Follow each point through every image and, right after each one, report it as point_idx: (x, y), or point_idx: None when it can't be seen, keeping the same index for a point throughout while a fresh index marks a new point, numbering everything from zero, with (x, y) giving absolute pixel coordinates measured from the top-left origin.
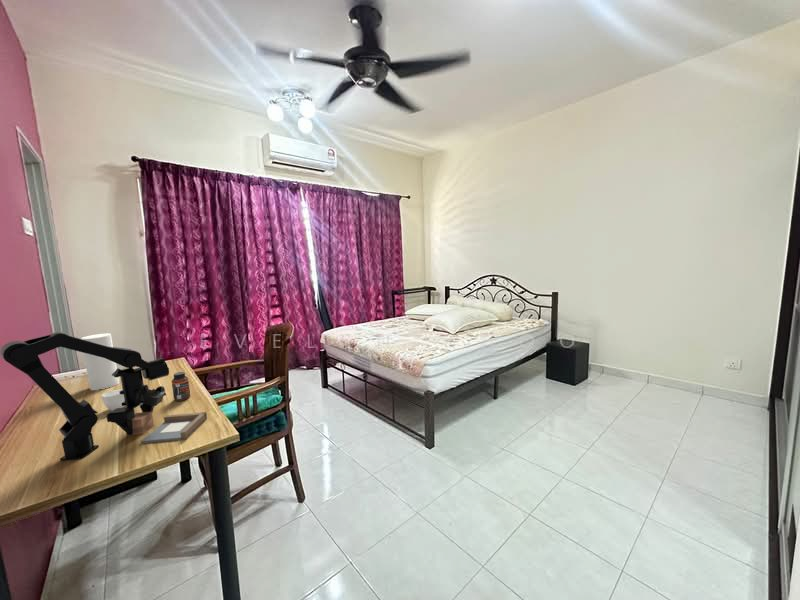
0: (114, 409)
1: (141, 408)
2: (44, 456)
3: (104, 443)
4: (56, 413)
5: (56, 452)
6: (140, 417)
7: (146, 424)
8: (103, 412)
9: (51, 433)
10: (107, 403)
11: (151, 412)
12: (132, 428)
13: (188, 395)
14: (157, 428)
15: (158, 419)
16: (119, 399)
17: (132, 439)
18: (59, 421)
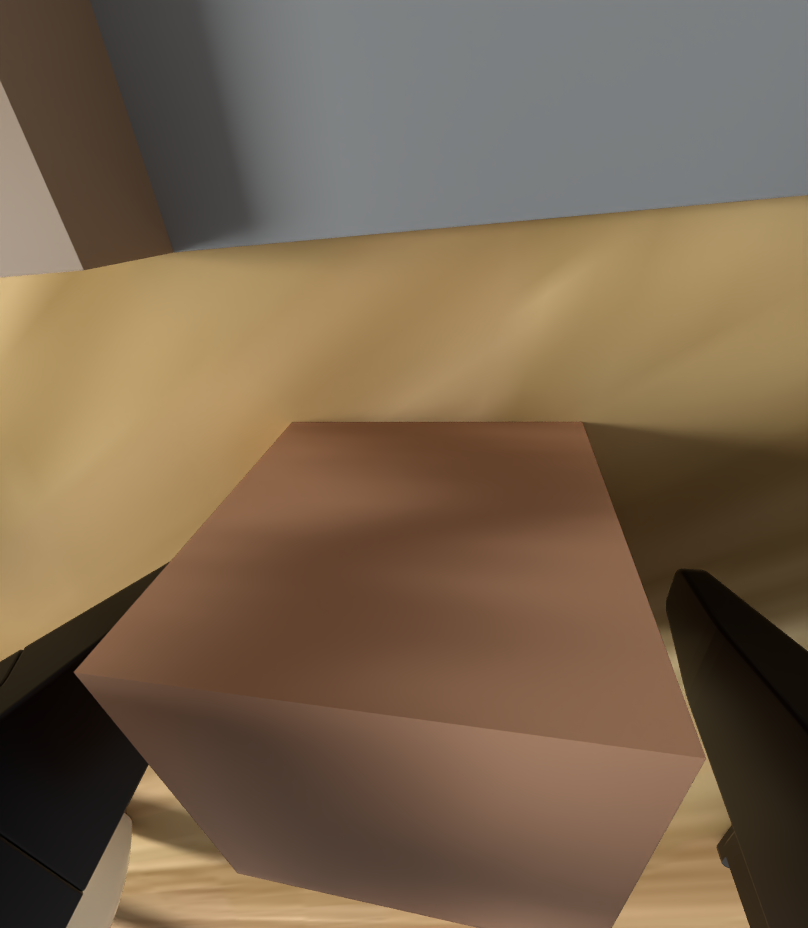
0: (120, 824)
1: (79, 881)
2: (739, 923)
3: (699, 734)
4: (221, 923)
5: (703, 900)
6: (501, 796)
7: (457, 500)
8: (163, 840)
9: (403, 923)
10: (106, 918)
11: (109, 655)
12: (761, 666)
13: None
14: (502, 178)
15: (116, 476)
16: None
17: (754, 496)
18: (284, 916)
